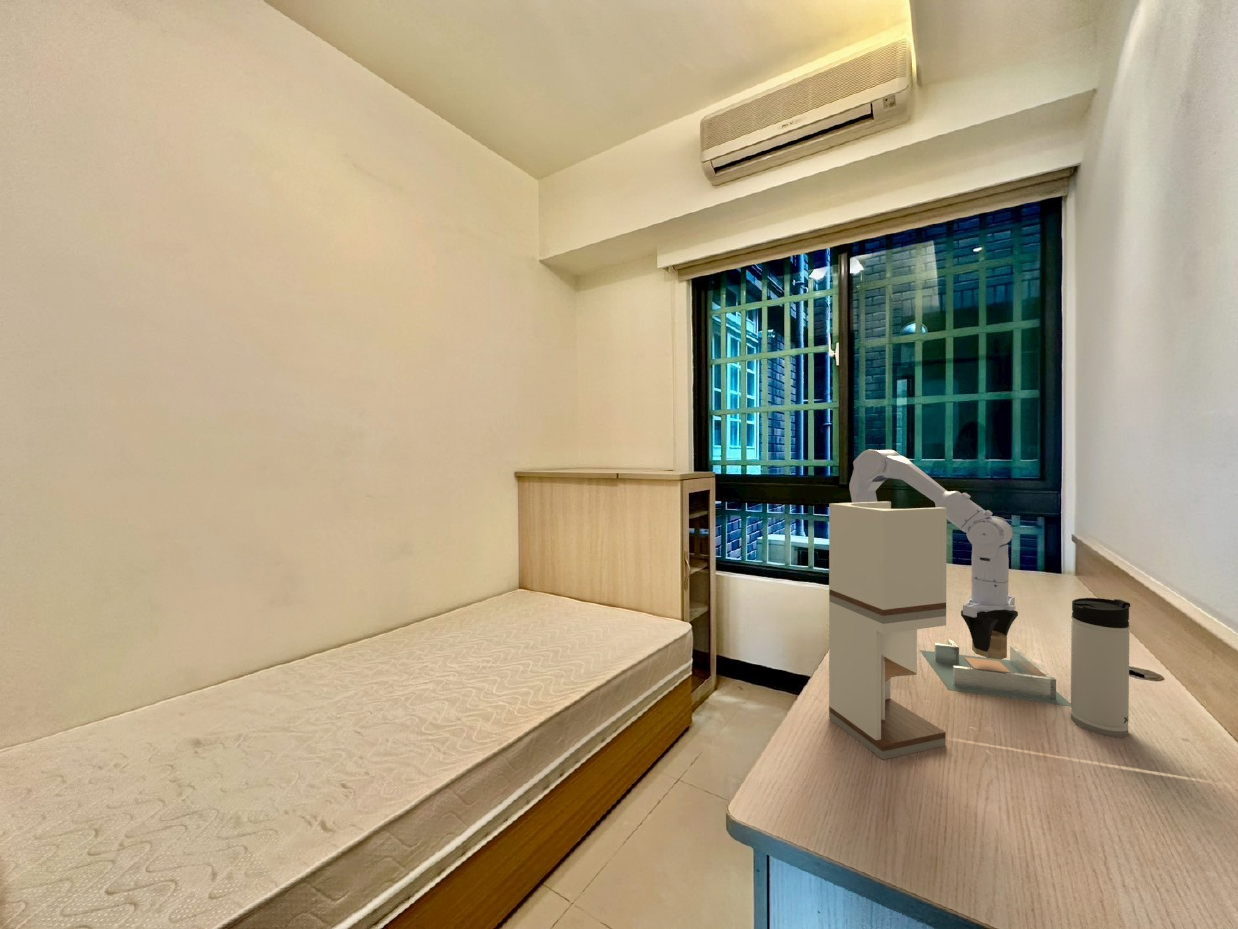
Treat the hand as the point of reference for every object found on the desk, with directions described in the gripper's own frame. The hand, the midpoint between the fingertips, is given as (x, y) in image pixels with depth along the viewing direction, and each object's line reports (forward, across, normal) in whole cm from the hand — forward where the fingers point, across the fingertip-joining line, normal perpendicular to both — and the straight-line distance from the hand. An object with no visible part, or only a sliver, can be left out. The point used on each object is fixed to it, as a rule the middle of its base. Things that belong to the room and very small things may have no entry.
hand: (989, 647), depth 91 cm
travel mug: (+5, -7, -18) cm, 20 cm away
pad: (+4, 0, 0) cm, 4 cm away
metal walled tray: (+4, -3, -1) cm, 6 cm away
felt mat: (+5, -3, -1) cm, 6 cm away
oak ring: (+1, 0, 0) cm, 1 cm away
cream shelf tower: (+5, -38, -4) cm, 39 cm away
